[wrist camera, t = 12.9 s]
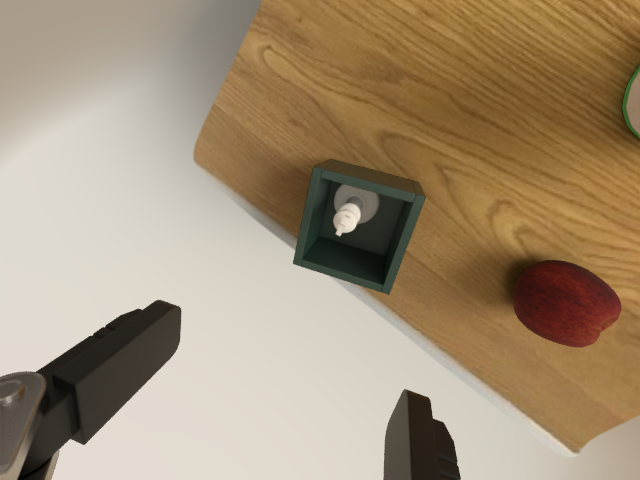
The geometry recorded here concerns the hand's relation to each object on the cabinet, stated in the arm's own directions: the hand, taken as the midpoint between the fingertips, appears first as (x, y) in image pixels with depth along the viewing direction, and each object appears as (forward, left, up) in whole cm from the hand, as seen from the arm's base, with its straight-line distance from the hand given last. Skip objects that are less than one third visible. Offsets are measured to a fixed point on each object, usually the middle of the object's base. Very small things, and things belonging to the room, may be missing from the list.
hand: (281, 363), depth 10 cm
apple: (+20, -3, -25) cm, 32 cm away
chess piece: (0, 0, -24) cm, 25 cm away
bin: (0, -1, -25) cm, 25 cm away
